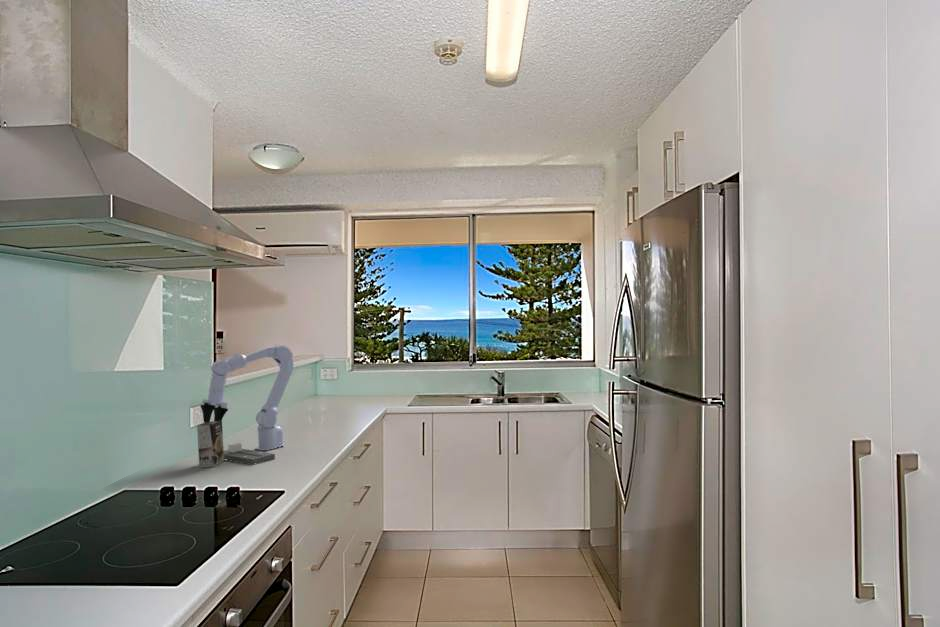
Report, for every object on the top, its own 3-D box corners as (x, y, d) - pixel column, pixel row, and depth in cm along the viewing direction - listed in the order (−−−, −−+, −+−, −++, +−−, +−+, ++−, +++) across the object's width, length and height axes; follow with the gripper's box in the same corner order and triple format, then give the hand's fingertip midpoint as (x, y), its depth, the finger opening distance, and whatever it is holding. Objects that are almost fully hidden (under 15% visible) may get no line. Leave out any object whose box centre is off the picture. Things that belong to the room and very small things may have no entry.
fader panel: (236, 452, 269) (236, 447, 269) (274, 458, 254) (274, 453, 254) (214, 457, 261) (214, 452, 261) (252, 464, 246) (252, 459, 246)
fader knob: (237, 449, 264) (237, 442, 264) (241, 450, 262) (241, 442, 262) (228, 451, 260) (228, 444, 260) (232, 452, 258) (232, 444, 258)
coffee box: (215, 467, 245) (213, 424, 245) (198, 468, 245) (196, 425, 245) (225, 461, 254) (222, 420, 254) (208, 462, 254) (206, 421, 254)
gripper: (198, 387, 265) (192, 421, 264) (218, 391, 256) (212, 426, 255) (213, 388, 271) (208, 421, 269) (233, 392, 262) (228, 426, 260)
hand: (211, 423), depth 262 cm, fingers open, 7 cm apart
